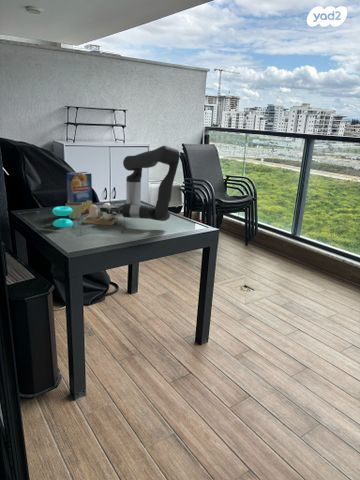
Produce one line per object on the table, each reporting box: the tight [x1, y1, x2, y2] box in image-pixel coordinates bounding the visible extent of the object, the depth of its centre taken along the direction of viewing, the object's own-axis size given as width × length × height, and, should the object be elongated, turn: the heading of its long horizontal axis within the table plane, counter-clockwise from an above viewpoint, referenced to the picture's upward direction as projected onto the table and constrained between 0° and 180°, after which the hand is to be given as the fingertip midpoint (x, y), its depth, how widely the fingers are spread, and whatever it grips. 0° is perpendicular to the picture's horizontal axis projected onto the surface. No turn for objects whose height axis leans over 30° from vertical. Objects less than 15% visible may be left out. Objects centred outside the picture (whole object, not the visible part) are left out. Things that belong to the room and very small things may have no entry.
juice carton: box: [66, 171, 93, 215], centre depth 217 cm, size 12×8×24 cm, turn 132°
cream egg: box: [102, 202, 112, 221], centre depth 200 cm, size 5×5×9 cm
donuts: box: [52, 205, 74, 228], centre depth 193 cm, size 10×10×10 cm
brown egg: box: [88, 203, 99, 220], centre depth 201 cm, size 5×5×9 cm
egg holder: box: [82, 214, 118, 226], centre depth 202 cm, size 9×17×3 cm, turn 80°
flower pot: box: [65, 202, 83, 220], centre depth 208 cm, size 9×9×9 cm
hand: (102, 208), depth 200 cm, fingers closed on cream egg, 4 cm apart
